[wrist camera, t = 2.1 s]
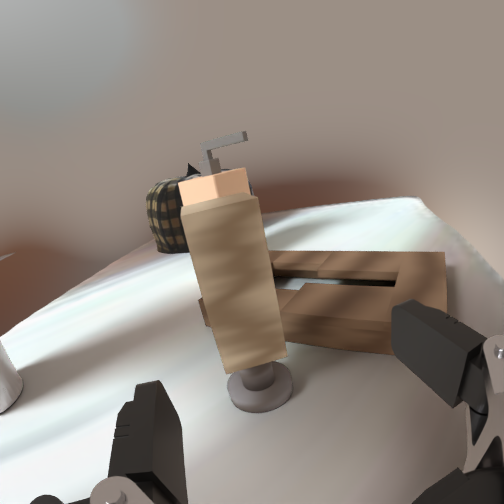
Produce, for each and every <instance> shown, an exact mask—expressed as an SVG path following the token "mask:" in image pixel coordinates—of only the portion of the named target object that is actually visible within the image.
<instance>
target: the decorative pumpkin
mask: <svg viewBox="0 0 504 504" xmlns="http://www.w3.org/2000/svg"><path fill="white" fill-rule="evenodd" d="M228 170H232V169H221V172H223V171H228ZM197 177H201V173H200V172H198V171H197V170H196V169H195V168H194V167H192V166H191V165H190V164H189V163H188V172H187V176H185V177H176V178H169V179H166V180H164V181H162V182H159V183H157V184H156V185H155V186H154V187H153V188H151V189H150V191H149V192H148V195H147V198H146V208H147V214H148V219H149V224H150V228H151V230H152V232H153V236H154V239H155V241H156V243H157V250H158V252H161V253H167V254H175V253H190V251H189V247H188V244H187V240H186V236H185V232H184V228H183V224H182V220H181V207H183V202H182V198H181V194H180V189H179V185H178V183H179V182H183V181H186V180H190V179H193V178H197ZM248 184H249V189H250V193H251V195H252V196H254V195H253V190H252V187H251V184H250V182H249V181H248Z"/></svg>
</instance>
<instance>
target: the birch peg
mask: <svg viewBox="0 0 504 504" xmlns="http://www.w3.org/2000/svg"><path fill="white" fill-rule="evenodd" d="M181 220H182V224H183V228H184V232H185V236H186V240H187V244H188V247H189V251H190V255H191V259H192V262H193V266H194V270H195V273H196V277H197V280H198V284H199V287H200V291H201V294H202V298H203V301H204V305H205V308H206V311H207V315H208V318H209V321H210V325H211V328H212V331H213V334H214V338H215V341H216V344H217V347H218V350H219V353H220V356H221V359H222V363H223V366H224V369H225V372H226V374H229V373H233V372H234V373H233V374H232V375H231V376H230V378H229V380H228V383H227V389H228V392H229V394H230V397H231V400H232V402H233V404H234V405H235V406H236V407H237V408H239V409H240V410H243V411H245V412H250V413H263V412H268V411H271V410H274V409H276V408H278V407H280V406H281V405H282V404H284V403H285V402H286V401H287V400H288V399H289V397H290V396H291V393H292V390H293V385H292V380H291V374H290V371H289V370H288V368H287V367H286V366H284V365H283V364H281V363H278V362H275V360H278V359H281V358H284V357H287V350H286V344H285V339H284V333H283V328H282V322H281V317H280V311H279V306H278V300H277V295H276V290H275V284H274V279H273V274H272V268H271V263H270V258H269V253H268V247H267V242H266V237H265V232H264V227H263V222H262V217H261V212H260V206H259V201H258V197H255V196H252V195H250V194H247V193H244V192H241V193H237V194H232V195H228V196H224V197H220V198H215V199H211V200H207V201H203V202H199V203H195V204H191V205H187V206H183V207H181Z"/></svg>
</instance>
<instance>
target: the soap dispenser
mask: <svg viewBox="0 0 504 504" xmlns="http://www.w3.org/2000/svg"><path fill="white" fill-rule="evenodd" d="M244 141H248V138H247V133H246V131H244V132H239V133H235V134H231V135H228V136H224V137H220V138H217V139H213V140H210V141H207V142H203V143H201V144H200V145H201V150H202V154H203V158H204V161H201V162H199V167H200V171H201V177H197V178H193V179H190V180H186V181H183V182H179V183H178V185H179V189H180V194H181V198H182V202H183V206H187V205H191V204H195V203H199V202H203V201H207V200H211V199H215V198H220V197H224V196H228V195H232V194H237V193H241V192H244V193H247V194H250V195H251V193H250V189H249V184H248V179H247V174H246V169H245V168H240V169H234V170H228V171H223V172H221V168H220V163H219V159H218V158H215V159H213V158H212V153H211V150H212V149H216V148H219V147H224V146H227V145H231V144H236V143H240V142H244Z"/></svg>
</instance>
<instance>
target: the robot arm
mask: <svg viewBox="0 0 504 504" xmlns="http://www.w3.org/2000/svg"><path fill="white" fill-rule="evenodd" d="M391 347H392V350H393V352H394V354H395V356H396V357H397V358H398V359H399V360H400V361H401V362H402V363H403V364H405V365H406V366H407V367H408V368H409V369H410V370H411V371H412V372H413V373H415V374H416V375H417V376H418V377H419V378H420V379H421V380H422V381H423V382H424V383H426V384H427V385H428V386H429V387H430V388H431V389H432V390H433V391H434V392H435V393H436V394H438V395H439V396H440V397H441V398H442V399H443V400H444V401H445V402H446V403H447V404H448V405H450V406H451V407H452V408H454V407H455V406H457V405H458V404H460V403H461V402H462V401H465V402H466V403H467V404H466V408H465V415H466V429H467V458H466V462H465V465H464V469H463V472H462V471H461V470H460V469H459V468H457V469H455V470H454V471H452V472H451V473H450V474H448V475H447V476H446V477H444V478H443V479H441V480H440V481H438V482H437V483H435V484H434V485H432V486H431V487H429V488H428V489H426V490H425V491H424V492H423V493H422V494H421V495H420V496H419V497H418V498H417V499H416V500H415V501H414V502H413V503H412V504H504V335H495V336H492V337H490V338H488V339H487V338H486V337H484V336H483V335H481V334H479V333H478V332H476V331H475V330H473V329H471V328H470V327H468V326H466V325H465V324H463V323H462V322H458V320H457V319H455V318H453V317H450V315H448V314H447V313H445V312H443V311H442V310H440V309H436V308H432V307H429V306H425V305H423V304H421V303H420V302H418V301H416V300H415V299H409V300H407V301H404V302H402V303H400V304H398V305H395V306H394V307H393V308H392V311H391ZM22 388H23V381H22V379H21V377H20V376H19V374H18V372H17V371H16V369H15V367H14V365H13V364H12V362H11V360H10V358H9V356H8V354H7V353H6V351H5V349H4V347H3V345H2V343H1V341H0V413H1V412H3V411H5V410H6V409H7V408H9V407H10V406H11V405H12V404H13V403H14V402H15V400H16V399H17V398H18V396H19V395H20V393H21V391H22ZM114 438H115V439H113V445H112V451H111V458H110V464H109V472H108V478H106V479H104V480H102V481H101V482H99V483H98V484H97V485H96V486H95V487H94V489H93V490H92V492H91V496H90V497H89V498H87V499H83V500H79V501H76V502H72V503H68V504H188V498H187V488H186V477H185V466H184V453H183V438H182V427H181V422H180V419H179V416H178V414H177V412H176V410H175V408H174V406H173V404H172V402H171V400H170V398H169V396H168V394H167V392H166V390H165V388H164V386H163V385H162V383H161V382H160V381H159V380H157V381H152V382H147V383H142V384H137V385H136V388H135V394H134V400H133V401H130V402H126V403H125V404H124V406H123V407H122V409H121V410H120V412H119V413H118V416H117V422H116V429H115V433H114ZM30 504H64V503H63V502H62V501H60V500H59V499H58V498H57V497H55V496H52V495H42V496H39V497H37V498H35V499H34V500H33V501H32V502H31V503H30Z"/></svg>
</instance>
